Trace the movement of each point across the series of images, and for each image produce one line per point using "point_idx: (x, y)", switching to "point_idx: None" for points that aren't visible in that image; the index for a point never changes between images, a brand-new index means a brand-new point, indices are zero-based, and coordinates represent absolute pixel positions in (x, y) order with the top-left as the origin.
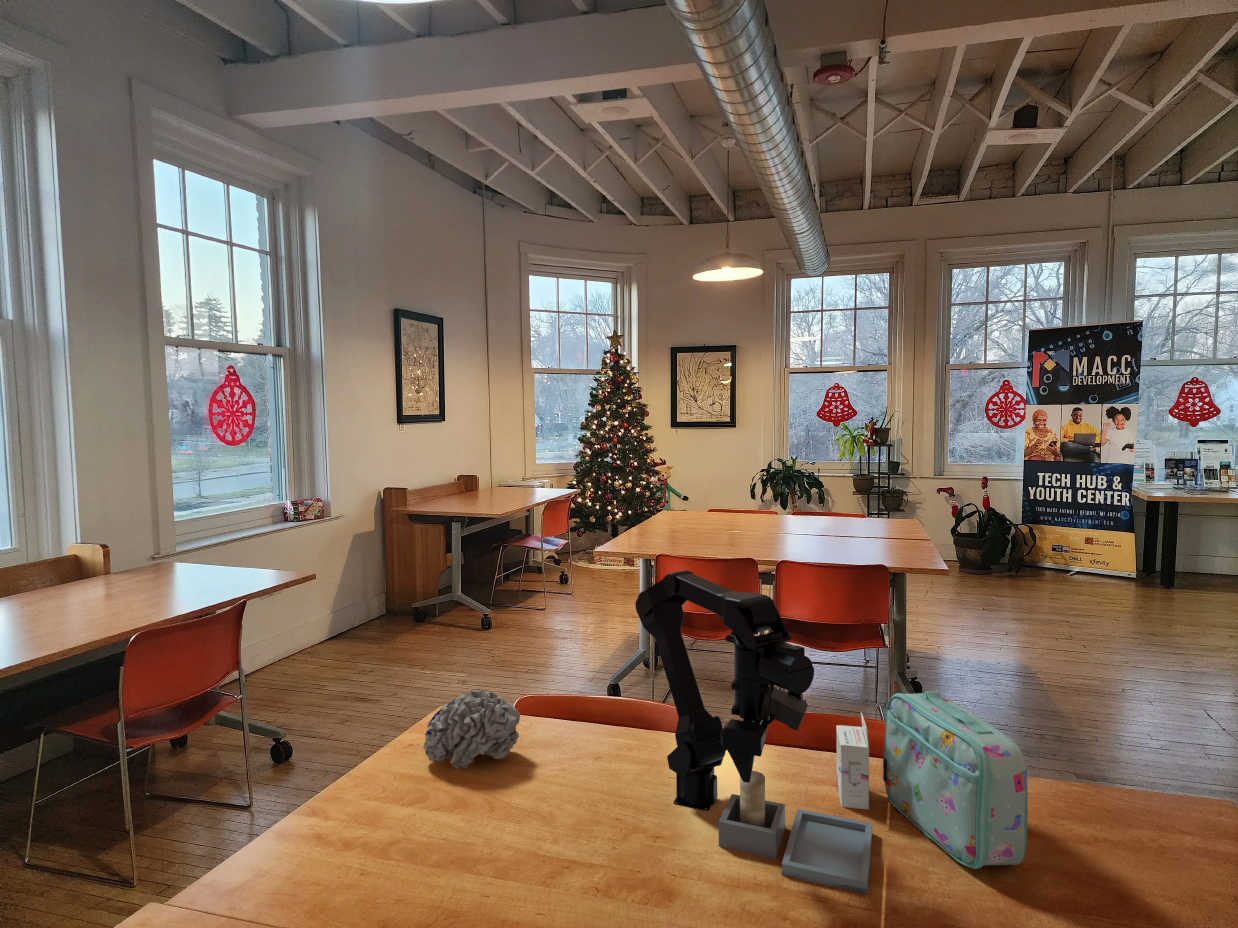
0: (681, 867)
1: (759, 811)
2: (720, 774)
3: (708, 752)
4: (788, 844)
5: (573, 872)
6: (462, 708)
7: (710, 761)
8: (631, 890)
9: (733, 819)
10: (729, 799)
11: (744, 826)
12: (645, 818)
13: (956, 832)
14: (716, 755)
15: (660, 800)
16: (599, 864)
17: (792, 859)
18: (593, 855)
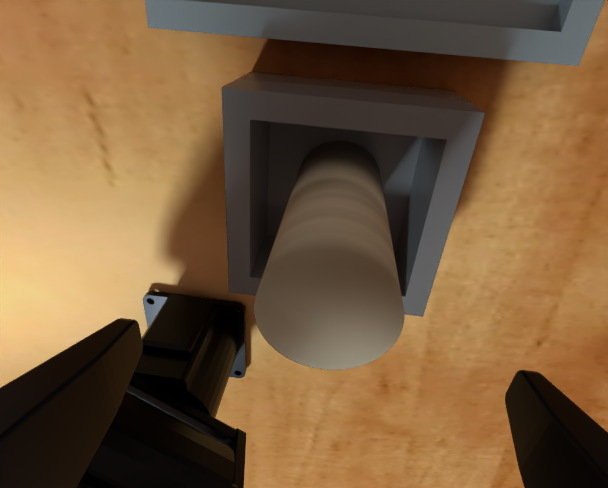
0: (505, 332)
1: (377, 201)
2: (38, 290)
3: (183, 483)
4: (434, 47)
5: None
6: None
7: (182, 430)
8: (598, 405)
9: None
10: None
11: (443, 237)
12: (317, 410)
13: None
14: (152, 435)
15: (233, 393)
16: (504, 455)
17: (488, 23)
18: (474, 465)
